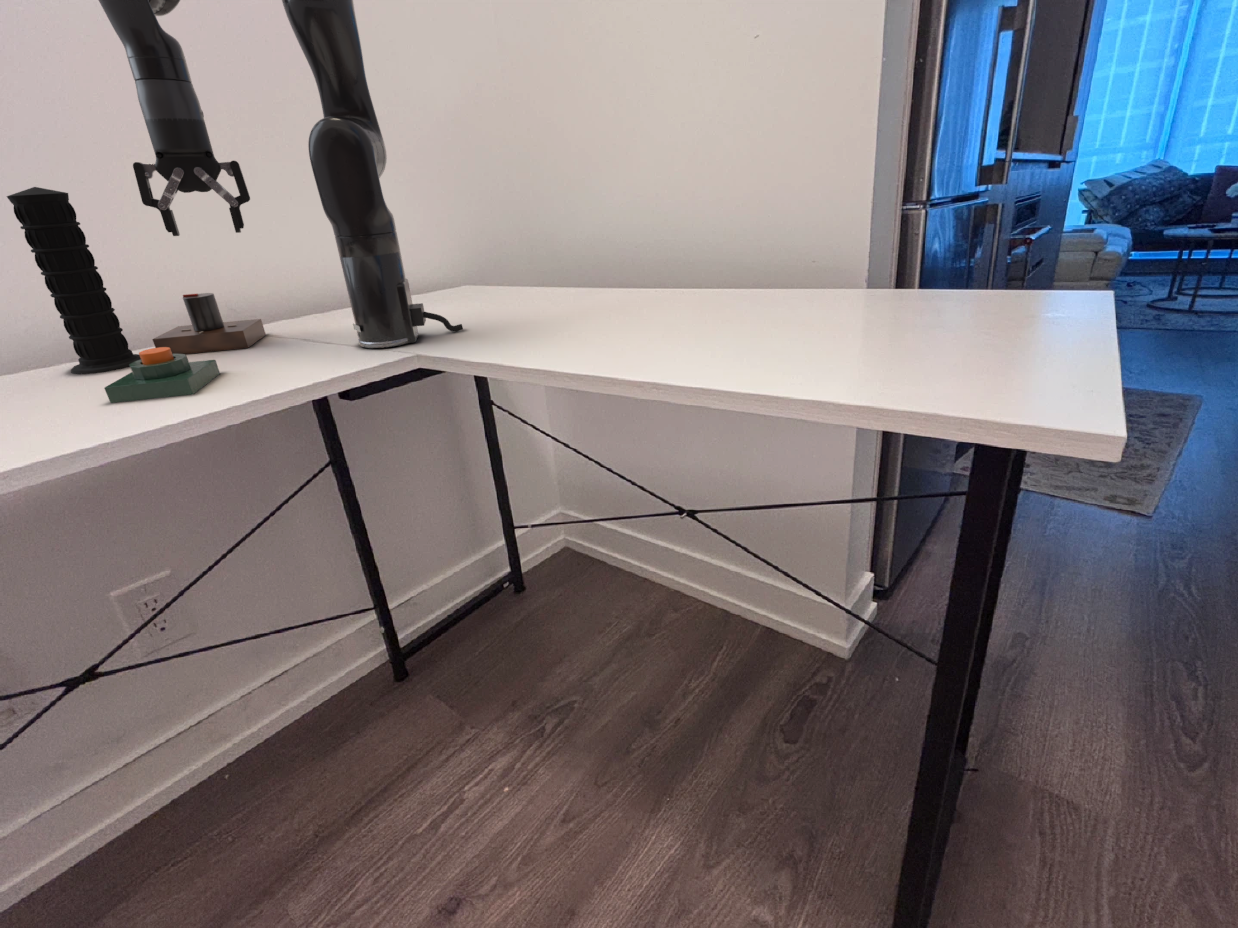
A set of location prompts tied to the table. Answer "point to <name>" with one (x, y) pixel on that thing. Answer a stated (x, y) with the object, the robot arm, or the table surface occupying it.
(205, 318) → the dial
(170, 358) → the button
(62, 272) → the handle grip
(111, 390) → the button box
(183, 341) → the panel
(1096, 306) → the table surface
